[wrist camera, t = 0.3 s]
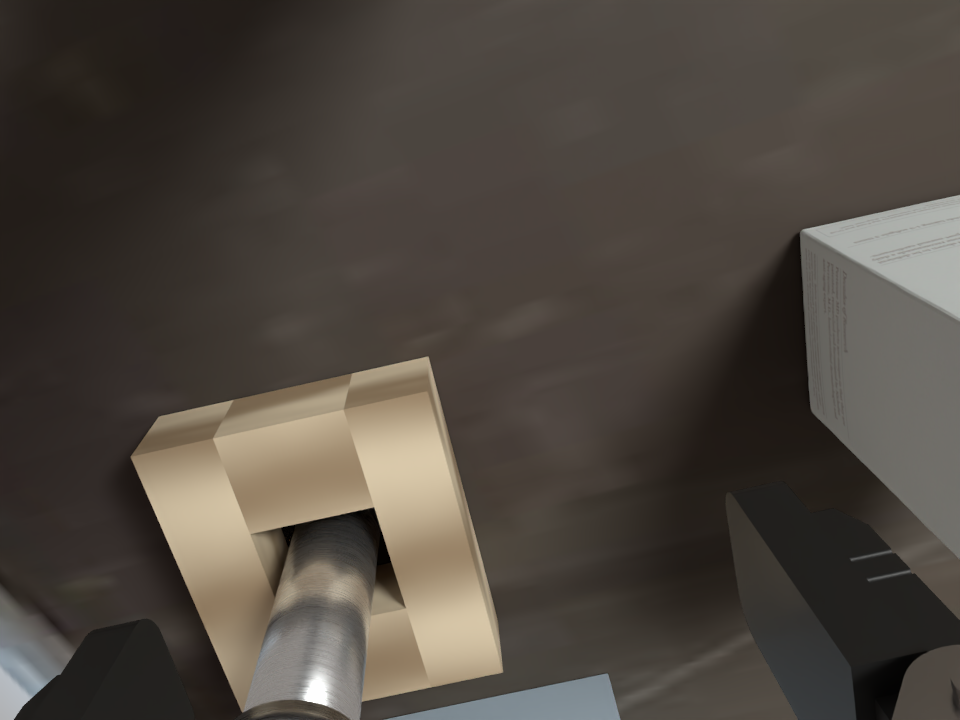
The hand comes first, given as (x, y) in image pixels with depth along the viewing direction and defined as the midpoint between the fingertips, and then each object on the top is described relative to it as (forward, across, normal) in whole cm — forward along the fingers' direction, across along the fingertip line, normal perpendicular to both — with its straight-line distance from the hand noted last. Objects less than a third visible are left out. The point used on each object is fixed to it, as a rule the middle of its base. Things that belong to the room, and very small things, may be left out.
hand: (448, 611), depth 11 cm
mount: (+19, +6, +8) cm, 21 cm away
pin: (+19, +6, +8) cm, 21 cm away
